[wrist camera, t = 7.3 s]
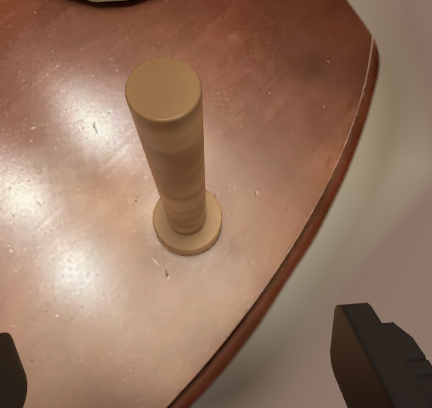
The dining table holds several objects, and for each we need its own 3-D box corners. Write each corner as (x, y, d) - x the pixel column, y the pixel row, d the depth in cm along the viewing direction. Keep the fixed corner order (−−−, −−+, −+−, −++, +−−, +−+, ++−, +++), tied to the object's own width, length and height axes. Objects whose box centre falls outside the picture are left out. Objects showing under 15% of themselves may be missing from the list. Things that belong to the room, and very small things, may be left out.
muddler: (218, 190, 27) (227, 27, 13) (224, 253, 26) (240, 146, 12) (154, 195, 27) (93, 34, 13) (156, 258, 26) (89, 156, 11)
